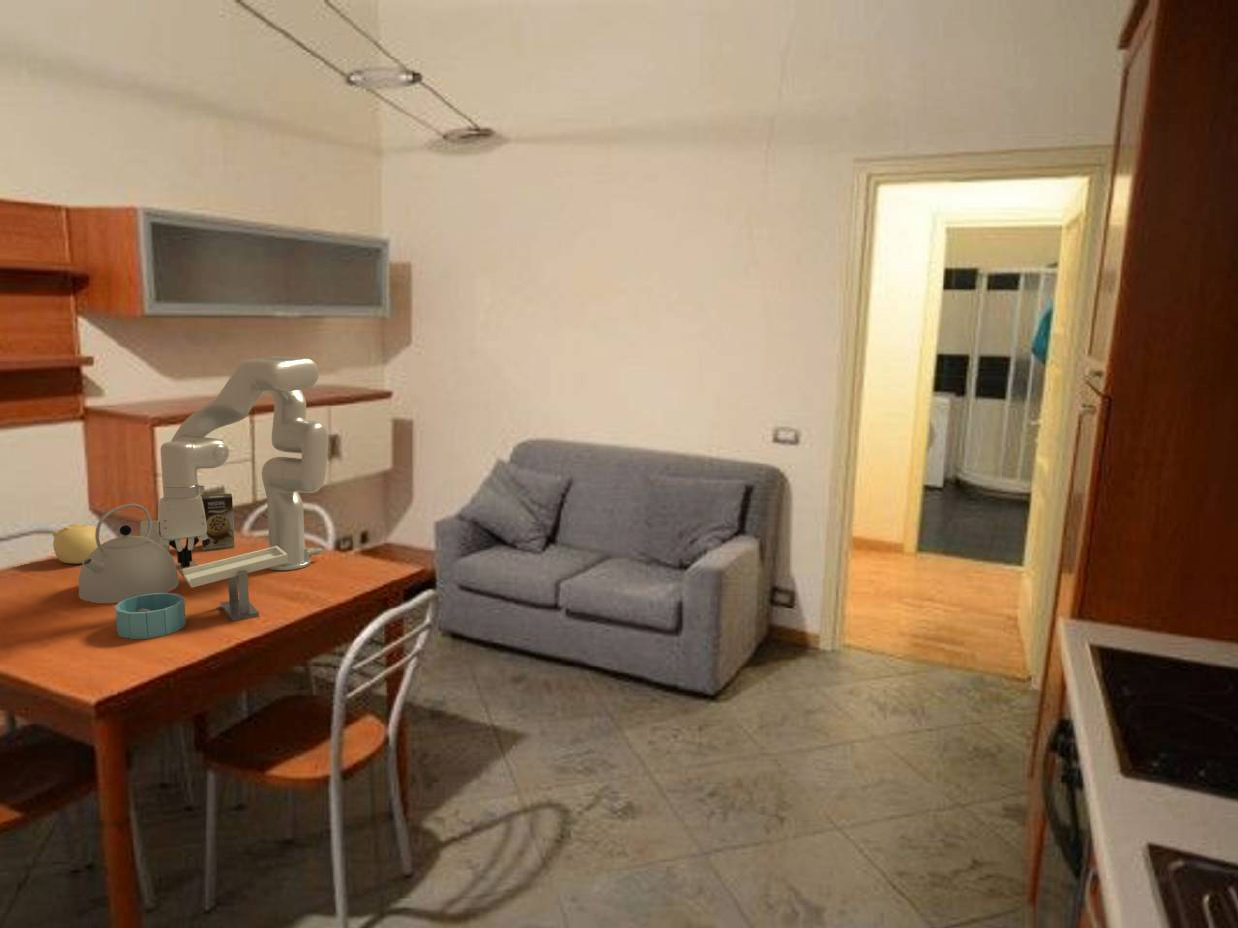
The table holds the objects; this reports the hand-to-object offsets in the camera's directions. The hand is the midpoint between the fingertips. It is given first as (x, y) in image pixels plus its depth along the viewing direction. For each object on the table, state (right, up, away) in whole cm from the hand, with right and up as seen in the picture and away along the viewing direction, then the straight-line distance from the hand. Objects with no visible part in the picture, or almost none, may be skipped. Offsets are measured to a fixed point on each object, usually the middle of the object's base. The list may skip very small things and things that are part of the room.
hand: (185, 564), depth 204 cm
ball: (-2, -10, -14) cm, 17 cm away
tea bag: (-32, -2, +44) cm, 54 cm away
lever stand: (+14, -11, -1) cm, 18 cm away
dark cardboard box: (-17, -1, +53) cm, 55 cm away
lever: (+11, -1, +1) cm, 11 cm away
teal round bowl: (-1, -13, -12) cm, 18 cm away
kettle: (-22, -8, +12) cm, 26 cm away
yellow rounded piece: (-49, -3, +35) cm, 60 cm away
